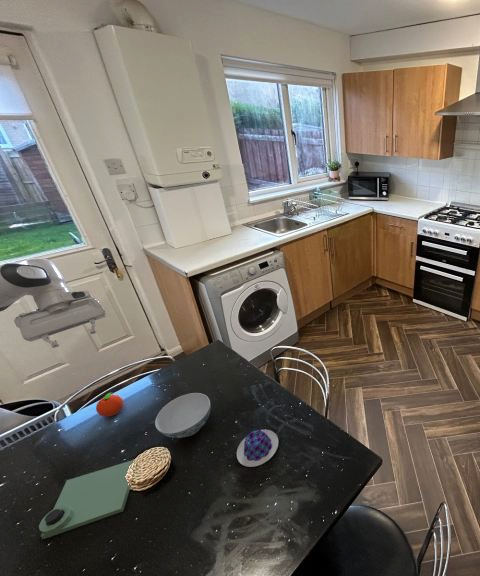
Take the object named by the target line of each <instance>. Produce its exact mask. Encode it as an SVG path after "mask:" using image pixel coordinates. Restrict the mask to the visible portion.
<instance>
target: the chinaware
mask: <svg viewBox="0 0 480 576" xmlns="http://www.w3.org/2000/svg"><path fill="white" fill-rule="evenodd" d="M211 408H212V407H211V400H210V398H209V397H208V396H207V395H206V394H204V393H200V392H192V393H191V392H190V393H186V394H183V395H180V396H178V397H176V398H174V399H172V400H171V401H169V402H168V403H167V404H165V405H164V406H163V407H162V408H161V409H160V411H158V414H157V415H156V417H155V420H154V425H155V428H156V430H157V431H158V432H159V433H161V434H162V435H163V436H165V437H168V438H172V439H182V438H186V437H187V438H188V437H192V436H193V435H195V434H196V433H198V432H199V431H200V430H201V429H202V428H203V427H204V425H205V424H206V423H207V421H208V419H209V417H210V413H211Z"/></svg>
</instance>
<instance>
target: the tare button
mask: <svg viewBox="0 0 480 576" xmlns="http://www.w3.org/2000/svg"><path fill="white" fill-rule="evenodd" d="M52 510H53V509H52ZM52 510H51V512H50V511H49V512H50V513H49V512H48V513H49V514H48V513H47V514H48V515H47V514H46V515H47V516H46V515H45V516H46V518H45V521H46V522H47V523H48V524H49V525H53V524H55V523H57V522H58V521H60V520H61V518H62V517H63V515H64V514H63V512H62V511H61V510H60V509H55V510H53V511H52Z"/></svg>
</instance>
